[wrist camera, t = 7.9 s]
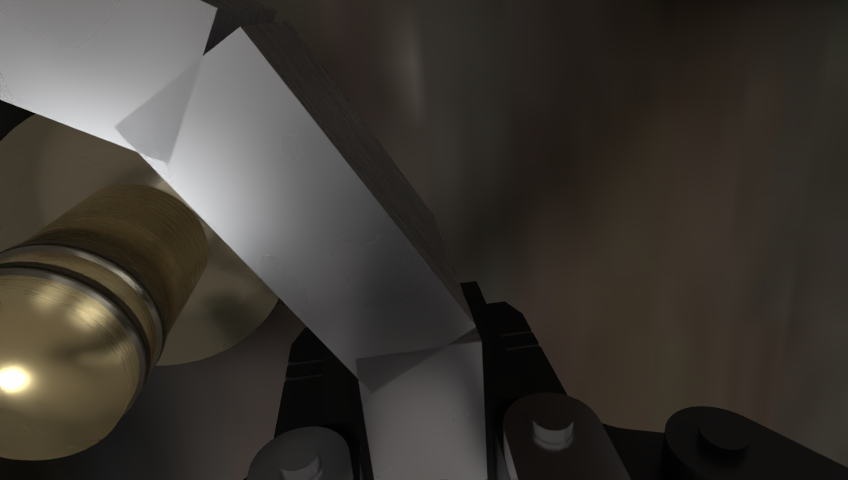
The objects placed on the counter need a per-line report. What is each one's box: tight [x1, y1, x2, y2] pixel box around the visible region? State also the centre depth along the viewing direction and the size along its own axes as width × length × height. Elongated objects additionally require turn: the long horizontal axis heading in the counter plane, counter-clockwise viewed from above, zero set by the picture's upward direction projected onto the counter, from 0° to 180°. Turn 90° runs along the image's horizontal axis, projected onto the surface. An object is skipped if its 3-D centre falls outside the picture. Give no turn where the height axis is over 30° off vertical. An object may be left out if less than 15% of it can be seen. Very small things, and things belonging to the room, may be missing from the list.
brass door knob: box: [0, 114, 279, 460], centre depth 14 cm, size 9×9×7 cm
